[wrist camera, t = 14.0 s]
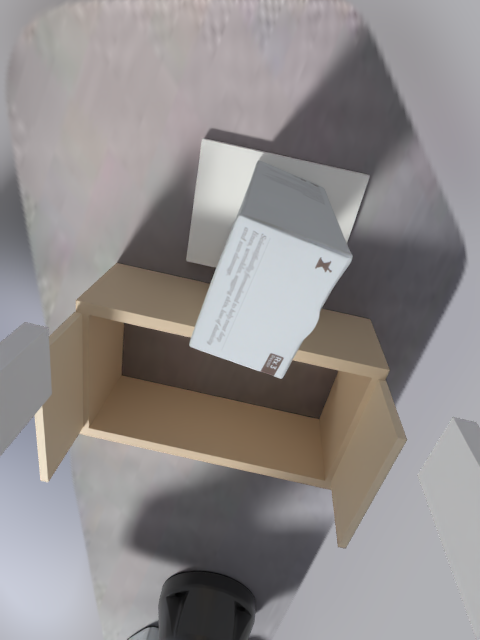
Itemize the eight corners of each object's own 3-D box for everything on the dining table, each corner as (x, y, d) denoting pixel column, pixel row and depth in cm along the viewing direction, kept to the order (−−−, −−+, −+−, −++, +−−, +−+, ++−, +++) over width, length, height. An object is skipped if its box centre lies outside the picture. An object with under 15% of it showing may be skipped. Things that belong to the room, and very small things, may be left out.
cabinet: (326, 428, 43) (341, 555, 31) (111, 380, 43) (41, 488, 31) (371, 319, 36) (413, 428, 24) (115, 262, 36) (27, 342, 24)
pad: (329, 289, 35) (330, 293, 35) (187, 258, 35) (185, 261, 35) (368, 174, 30) (369, 176, 30) (204, 137, 30) (202, 138, 30)
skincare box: (257, 158, 30) (234, 198, 17) (329, 189, 30) (361, 251, 17) (221, 255, 34) (180, 347, 21) (285, 280, 34) (283, 387, 21)
